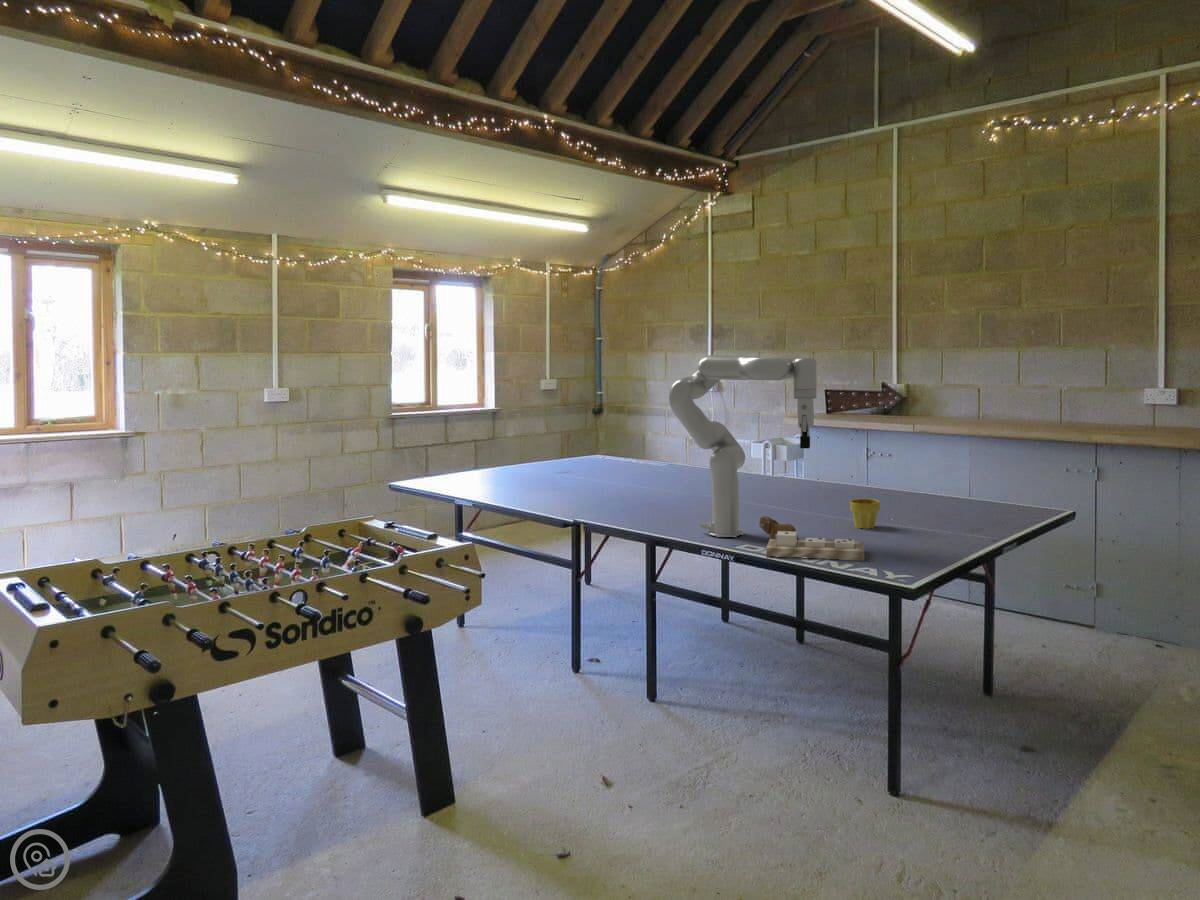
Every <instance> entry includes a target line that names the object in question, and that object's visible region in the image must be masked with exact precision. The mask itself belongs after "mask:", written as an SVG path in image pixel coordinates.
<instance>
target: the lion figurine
mask: <svg viewBox="0 0 1200 900" xmlns="http://www.w3.org/2000/svg"><path fill="white" fill-rule="evenodd" d="M758 525H759V528H760V529H761V530H763V532H765V534H767V535H769V536H770V539H776V535H777V533H778V531H791V532H797V530H796V527H794V525H793V524H790V523H786V524H780V523H778V522H777V521H776V520H775V519H773V518H771V517H769V516H765V515H764V516H762V517H760V518H759V524H758ZM797 540H800V539H799V537H798V535H797Z"/></svg>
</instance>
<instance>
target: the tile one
mask: <svg viewBox="0 0 1200 900" xmlns="http://www.w3.org/2000/svg"><path fill="white" fill-rule="evenodd" d="M797 536H798V532H797V531H796V532H791V531H778V533H777V534H776V539H777V546H793V547H796V545H797Z"/></svg>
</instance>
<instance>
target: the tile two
mask: <svg viewBox="0 0 1200 900" xmlns="http://www.w3.org/2000/svg"><path fill="white" fill-rule="evenodd" d="M805 540H806V541H805V547H822V548H825V541H826V537H808V536H807V537H805Z"/></svg>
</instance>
